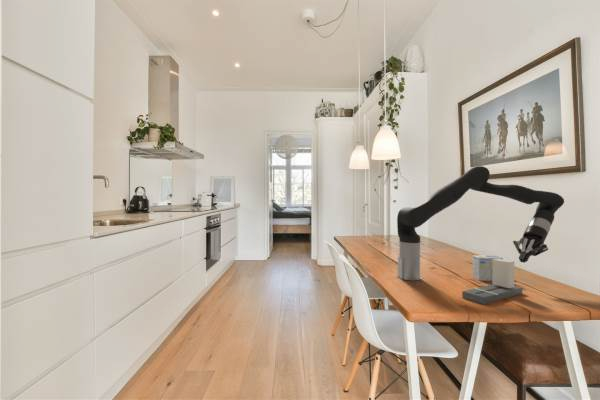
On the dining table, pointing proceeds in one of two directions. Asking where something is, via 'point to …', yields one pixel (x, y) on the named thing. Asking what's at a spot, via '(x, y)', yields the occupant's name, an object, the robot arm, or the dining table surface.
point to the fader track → (490, 293)
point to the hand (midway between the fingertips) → (521, 261)
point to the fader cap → (503, 273)
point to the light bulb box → (483, 267)
